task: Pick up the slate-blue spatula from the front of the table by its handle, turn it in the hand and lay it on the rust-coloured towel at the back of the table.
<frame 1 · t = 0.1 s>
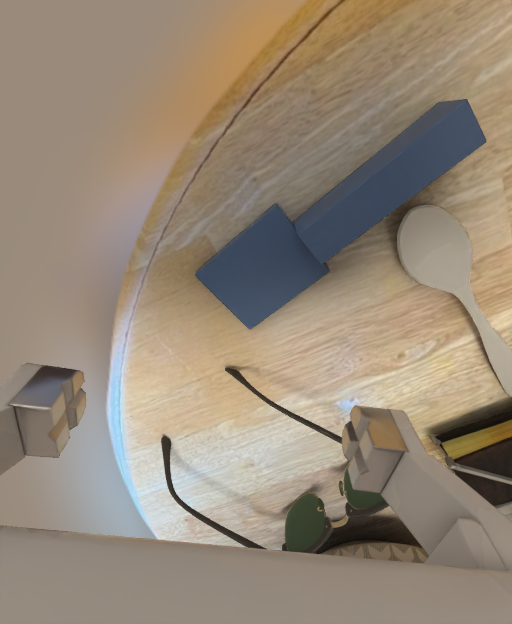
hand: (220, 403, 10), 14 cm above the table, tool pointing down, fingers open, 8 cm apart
spoon: (470, 313, 25), on the table, touching book
spatula: (322, 221, 22), on the table
sunglasses: (269, 442, 32), on the table
planter: (359, 556, 42), on the table
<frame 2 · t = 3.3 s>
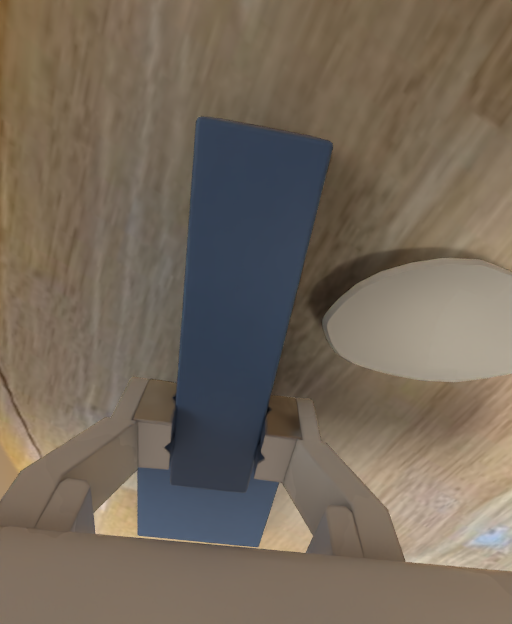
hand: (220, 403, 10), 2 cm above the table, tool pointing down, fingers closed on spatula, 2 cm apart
spatula: (222, 391, 12), on the table, touching gripper
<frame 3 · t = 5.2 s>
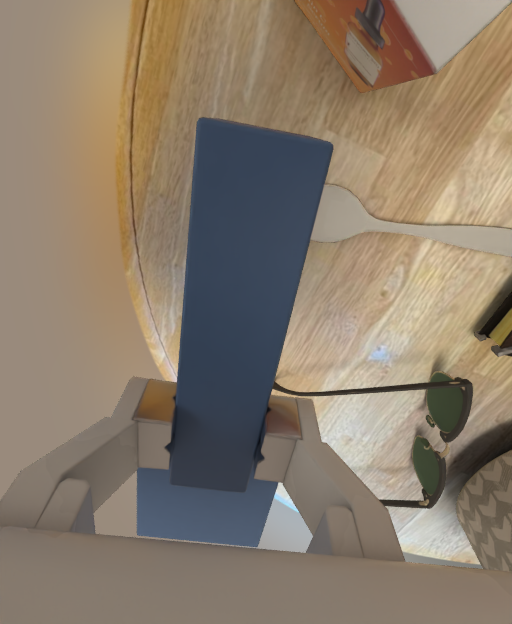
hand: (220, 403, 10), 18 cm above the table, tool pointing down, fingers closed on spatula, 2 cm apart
spoon: (408, 225, 26), on the table, touching book
spatula: (221, 391, 12), point 16 cm above the table, touching gripper
sunglasses: (347, 416, 36), on the table
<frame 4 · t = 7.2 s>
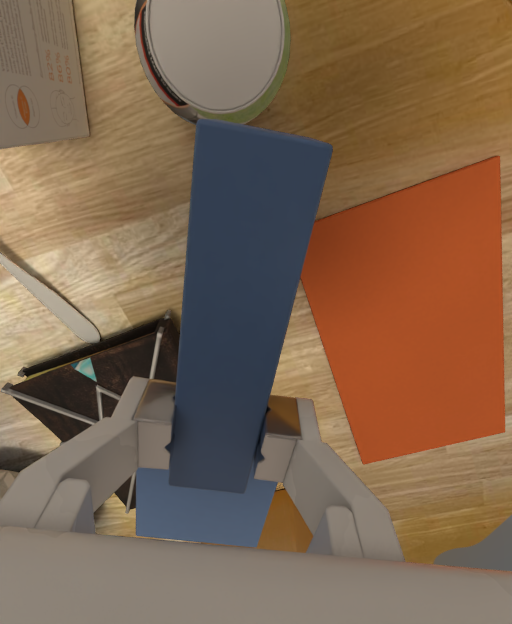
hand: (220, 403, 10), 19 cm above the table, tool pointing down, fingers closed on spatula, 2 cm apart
spoon: (11, 252, 28), on the table, touching book
beverage can: (220, 73, 22), on the table
small box: (41, 65, 22), on the table
spatula: (221, 392, 12), point 18 cm above the table, touching gripper
towel: (412, 347, 33), on the table
bread: (279, 542, 50), on the table
book: (151, 412, 37), on the table, touching spoon
planter: (31, 493, 45), on the table
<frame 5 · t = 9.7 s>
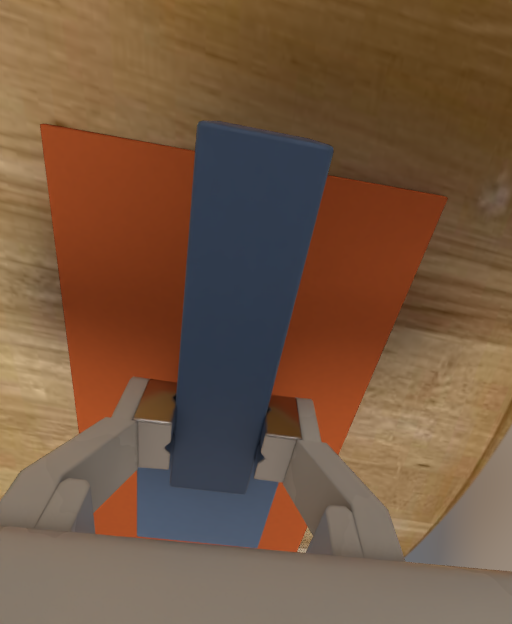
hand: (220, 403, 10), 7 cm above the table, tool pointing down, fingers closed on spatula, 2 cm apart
spatula: (221, 393, 12), point 5 cm above the table, touching gripper
towel: (214, 425, 21), on the table
when the fingers open (2 cm above the table, at t = 11.3 s): spatula stays where it is, resting on towel.
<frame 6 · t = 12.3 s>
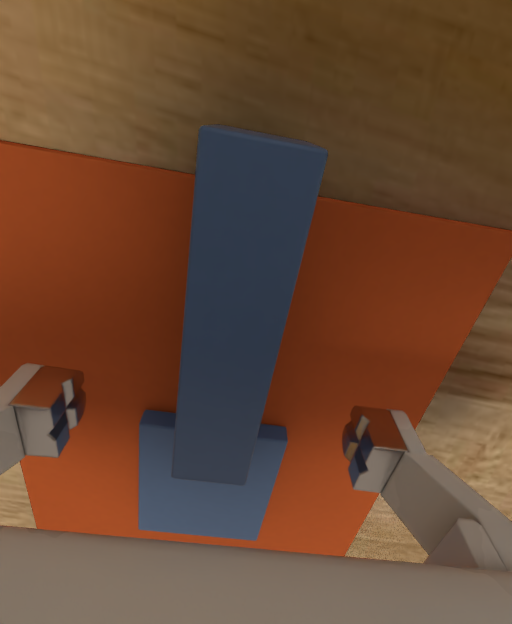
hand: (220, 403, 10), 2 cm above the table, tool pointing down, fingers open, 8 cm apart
spatula: (221, 388, 13), resting on towel
towel: (202, 502, 17), on the table
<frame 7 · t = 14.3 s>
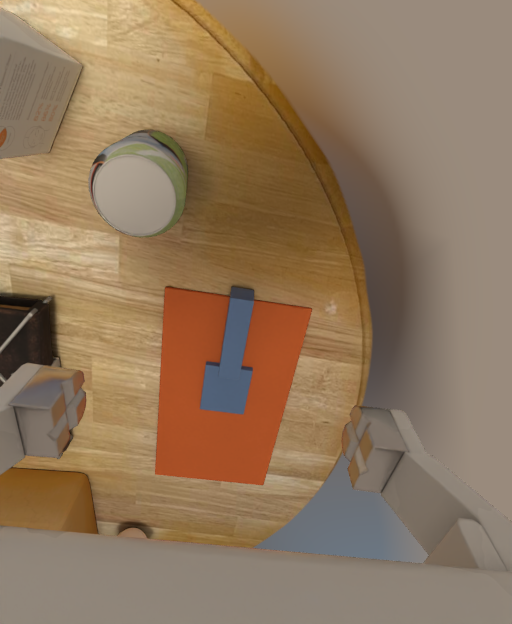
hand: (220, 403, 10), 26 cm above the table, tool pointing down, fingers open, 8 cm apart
beverage can: (164, 171, 31), on the table
small box: (35, 90, 28), on the table
spatula: (231, 353, 40), resting on towel
towel: (222, 401, 44), on the table
bread: (57, 518, 55), on the table
egg: (135, 528, 57), on the table
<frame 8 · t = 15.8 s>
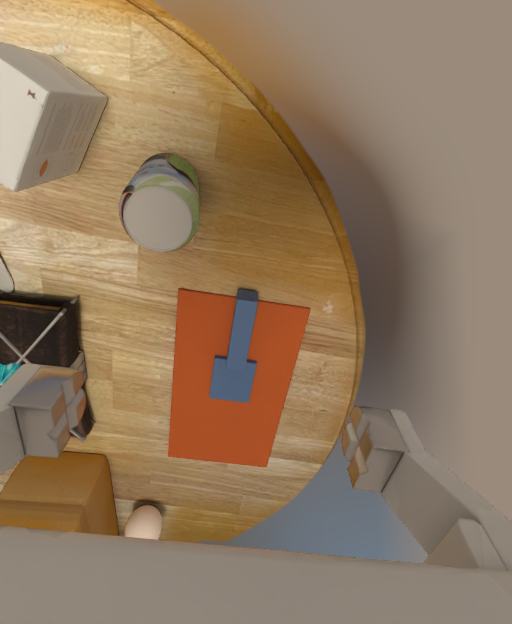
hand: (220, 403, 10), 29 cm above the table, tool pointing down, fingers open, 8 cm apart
beverage can: (178, 187, 35), on the table
small box: (66, 118, 32), on the table
spatula: (237, 348, 44), resting on towel
towel: (229, 391, 48), on the table
bread: (79, 495, 61), on the table
egg: (149, 506, 62), on the table
book: (24, 358, 46), on the table, touching spoon
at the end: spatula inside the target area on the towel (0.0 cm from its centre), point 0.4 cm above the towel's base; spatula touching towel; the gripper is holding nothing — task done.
